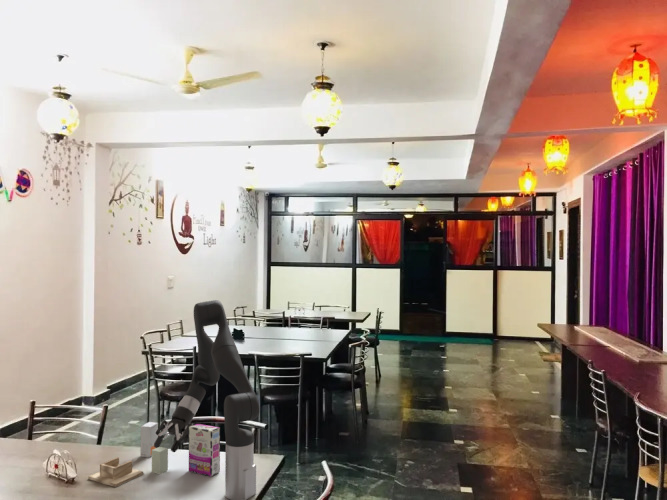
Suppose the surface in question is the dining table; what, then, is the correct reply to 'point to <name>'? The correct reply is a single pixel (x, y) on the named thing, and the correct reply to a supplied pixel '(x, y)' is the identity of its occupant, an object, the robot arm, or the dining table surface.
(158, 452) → the sage peg
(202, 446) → the candy bar box
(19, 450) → the dining table surface
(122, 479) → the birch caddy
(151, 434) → the skincare box
